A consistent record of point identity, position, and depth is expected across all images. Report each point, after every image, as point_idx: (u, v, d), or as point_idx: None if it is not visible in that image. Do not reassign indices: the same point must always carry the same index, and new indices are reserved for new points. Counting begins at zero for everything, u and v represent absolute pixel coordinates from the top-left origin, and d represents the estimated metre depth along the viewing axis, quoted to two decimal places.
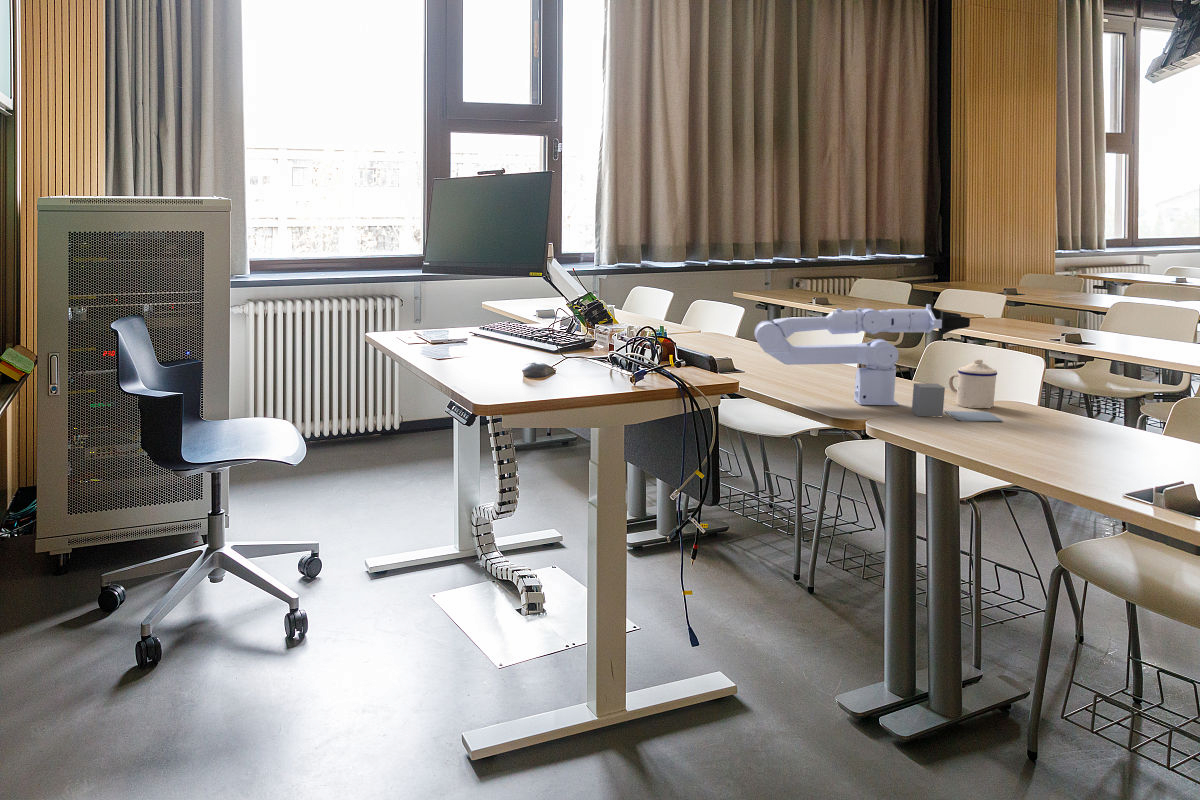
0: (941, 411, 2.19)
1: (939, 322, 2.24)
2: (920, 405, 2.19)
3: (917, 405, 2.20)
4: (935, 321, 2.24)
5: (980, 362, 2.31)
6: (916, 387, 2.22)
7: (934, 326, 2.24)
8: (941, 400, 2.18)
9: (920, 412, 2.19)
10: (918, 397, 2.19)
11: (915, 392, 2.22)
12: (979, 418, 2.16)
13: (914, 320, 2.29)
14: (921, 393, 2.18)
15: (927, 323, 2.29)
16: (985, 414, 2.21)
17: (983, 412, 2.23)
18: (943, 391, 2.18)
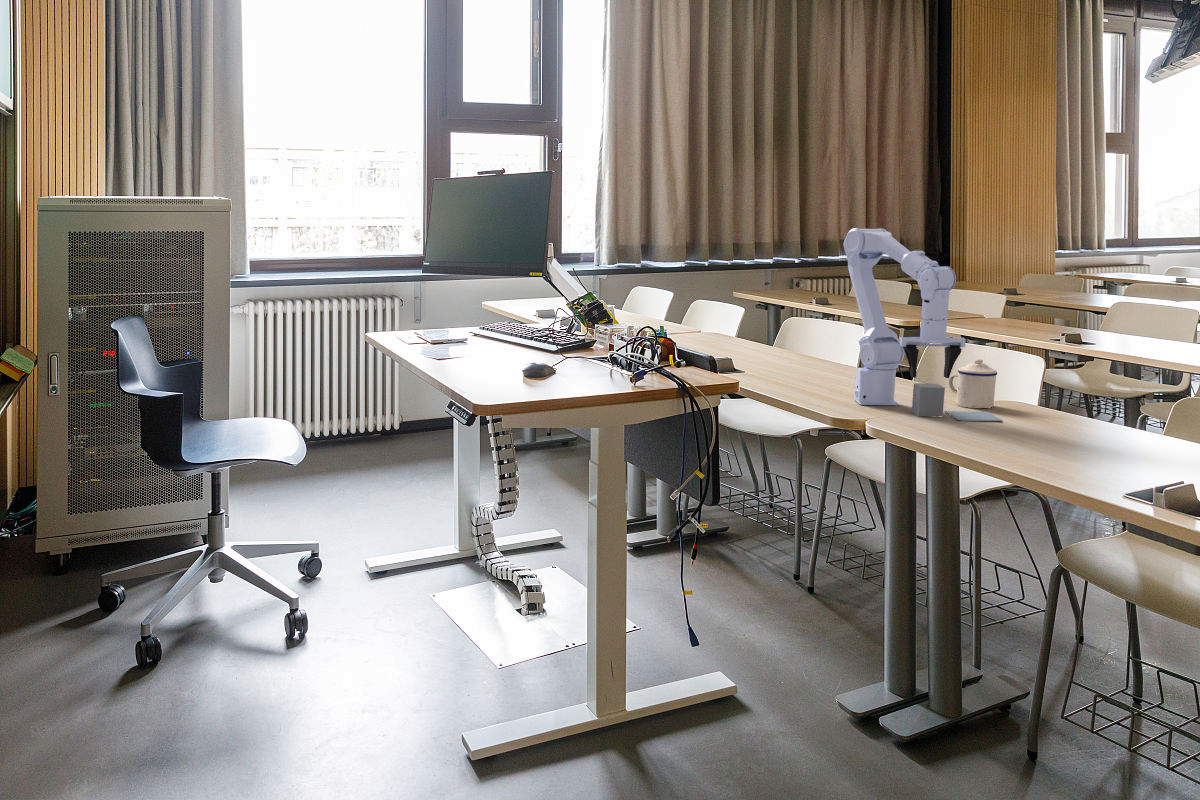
0: (941, 411, 2.19)
1: (901, 343, 2.19)
2: (920, 405, 2.19)
3: (917, 405, 2.20)
4: (901, 339, 2.18)
5: (980, 362, 2.31)
6: (916, 387, 2.22)
7: (900, 338, 2.20)
8: (941, 400, 2.18)
9: (920, 412, 2.19)
10: (918, 397, 2.19)
11: (915, 392, 2.22)
12: (979, 418, 2.16)
13: (922, 323, 2.18)
14: (921, 393, 2.18)
15: (920, 336, 2.19)
16: (985, 414, 2.21)
17: (983, 412, 2.23)
18: (943, 391, 2.18)
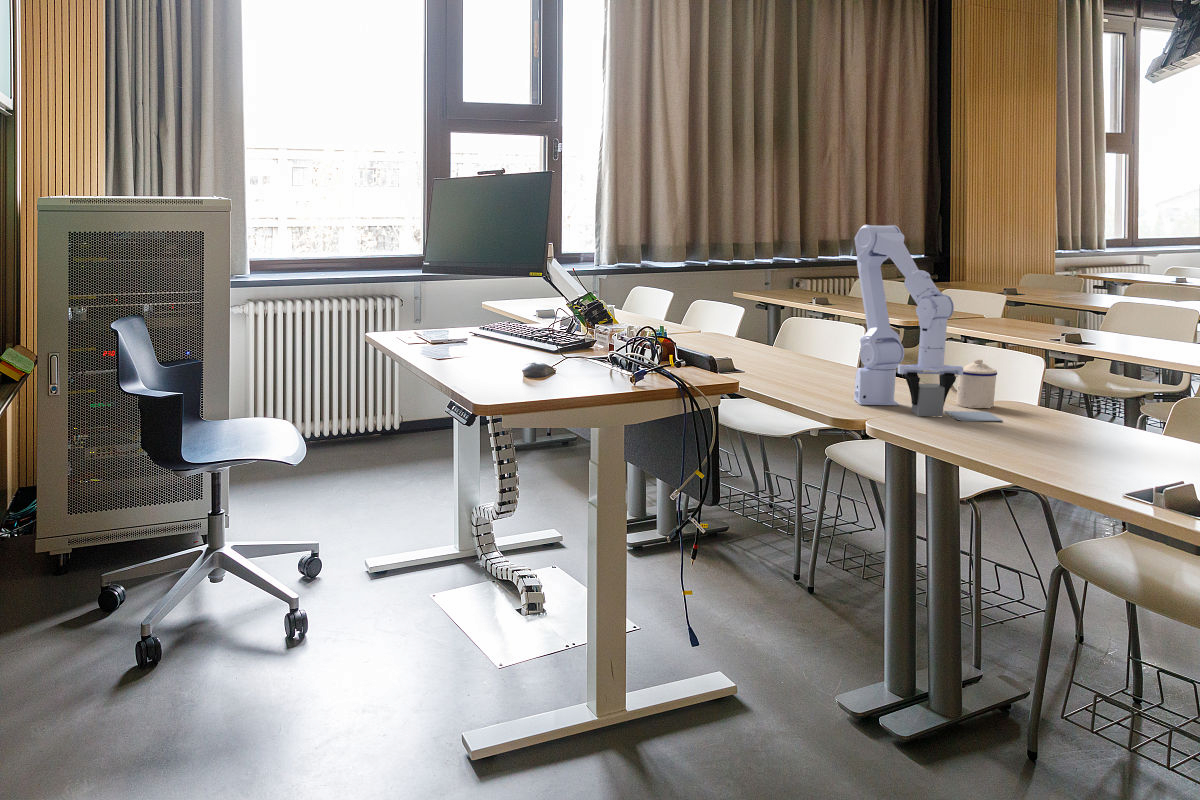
0: (941, 411, 2.19)
1: (899, 371, 2.20)
2: (920, 405, 2.19)
3: (917, 405, 2.20)
4: (899, 367, 2.20)
5: (980, 362, 2.31)
6: None
7: (898, 366, 2.21)
8: (941, 400, 2.18)
9: (920, 412, 2.19)
10: (918, 397, 2.19)
11: None
12: (979, 418, 2.16)
13: (919, 351, 2.19)
14: (921, 393, 2.18)
15: (918, 364, 2.20)
16: (985, 414, 2.21)
17: (983, 412, 2.23)
18: (943, 391, 2.18)
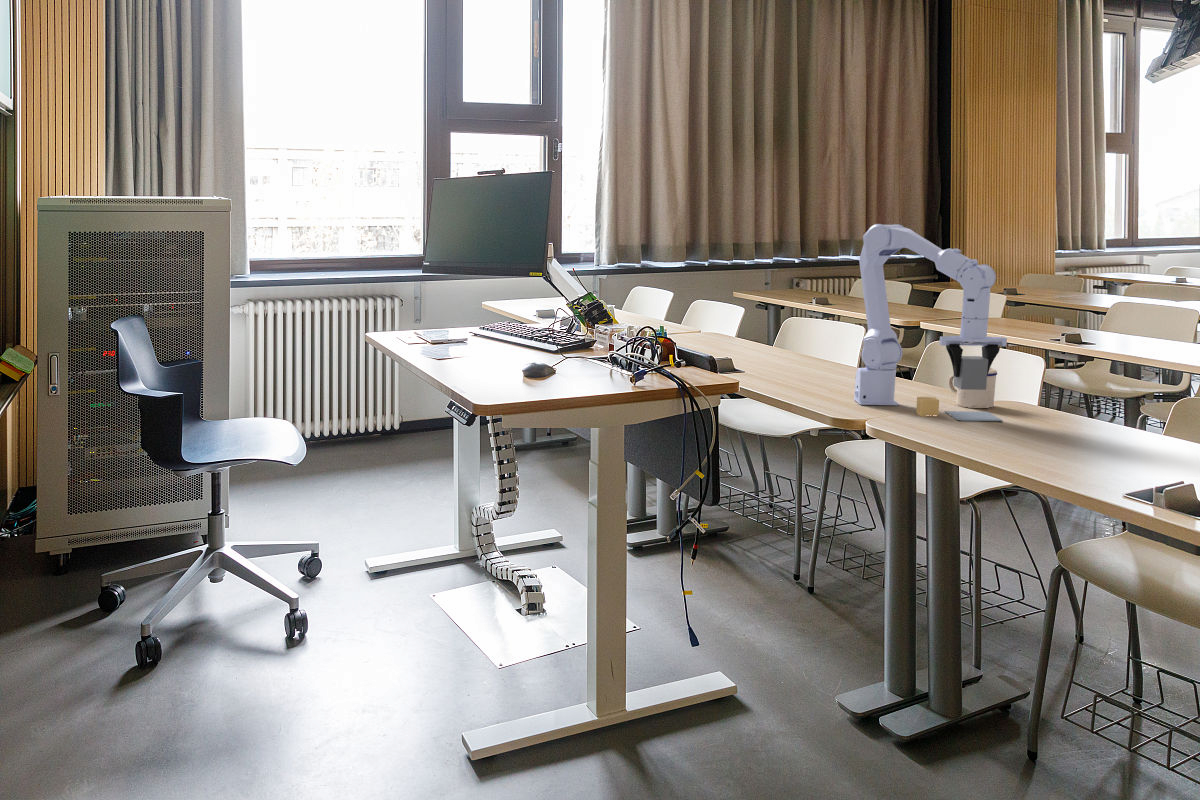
0: (984, 383, 2.15)
1: (941, 342, 2.17)
2: (963, 377, 2.15)
3: (960, 378, 2.17)
4: (941, 338, 2.16)
5: None
6: None
7: (940, 337, 2.17)
8: (984, 372, 2.15)
9: (962, 384, 2.16)
10: (961, 369, 2.16)
11: None
12: (979, 418, 2.16)
13: (962, 322, 2.16)
14: (964, 365, 2.15)
15: (960, 335, 2.17)
16: (985, 414, 2.21)
17: (983, 412, 2.23)
18: (986, 363, 2.14)
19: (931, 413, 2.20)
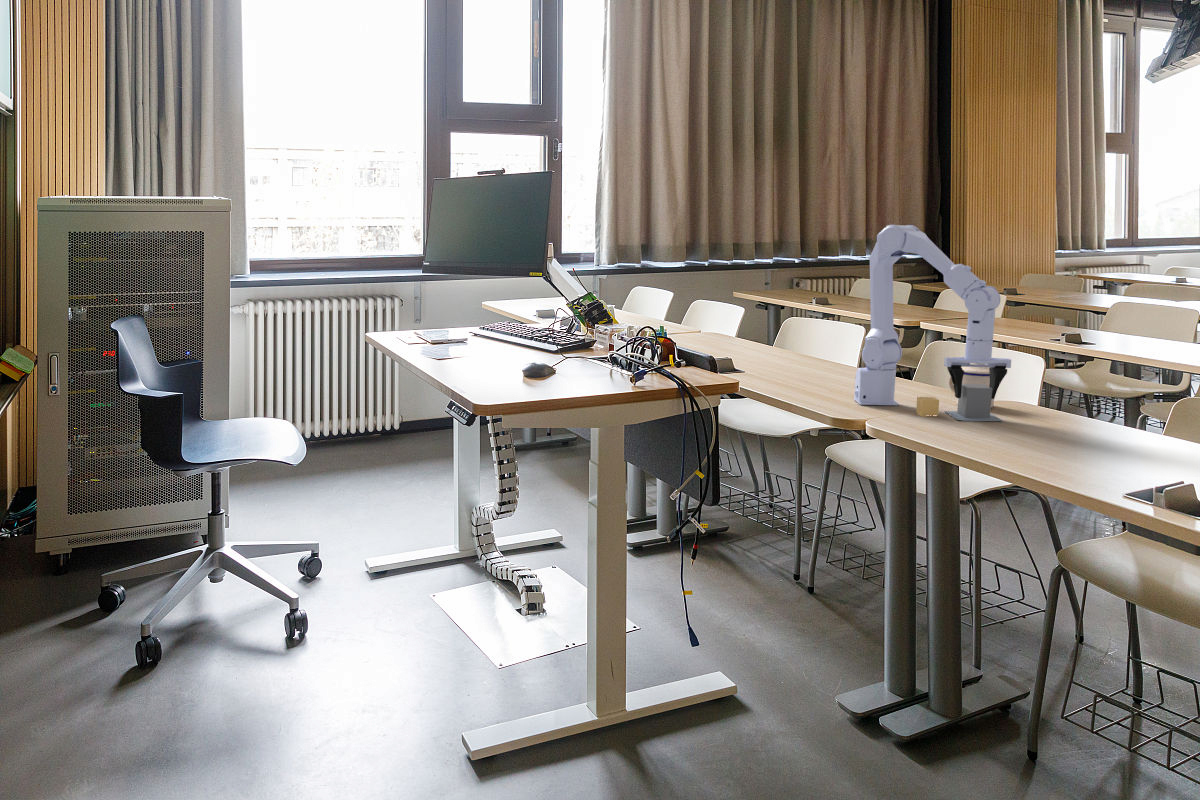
0: (988, 412, 2.16)
1: (946, 363, 2.17)
2: (967, 406, 2.16)
3: (964, 406, 2.17)
4: (946, 360, 2.17)
5: None
6: (962, 387, 2.19)
7: (945, 358, 2.18)
8: (988, 401, 2.16)
9: (966, 413, 2.17)
10: (965, 398, 2.17)
11: (961, 393, 2.19)
12: (979, 418, 2.16)
13: (967, 343, 2.16)
14: (968, 393, 2.16)
15: (965, 356, 2.17)
16: None
17: None
18: (990, 392, 2.15)
19: (931, 413, 2.20)
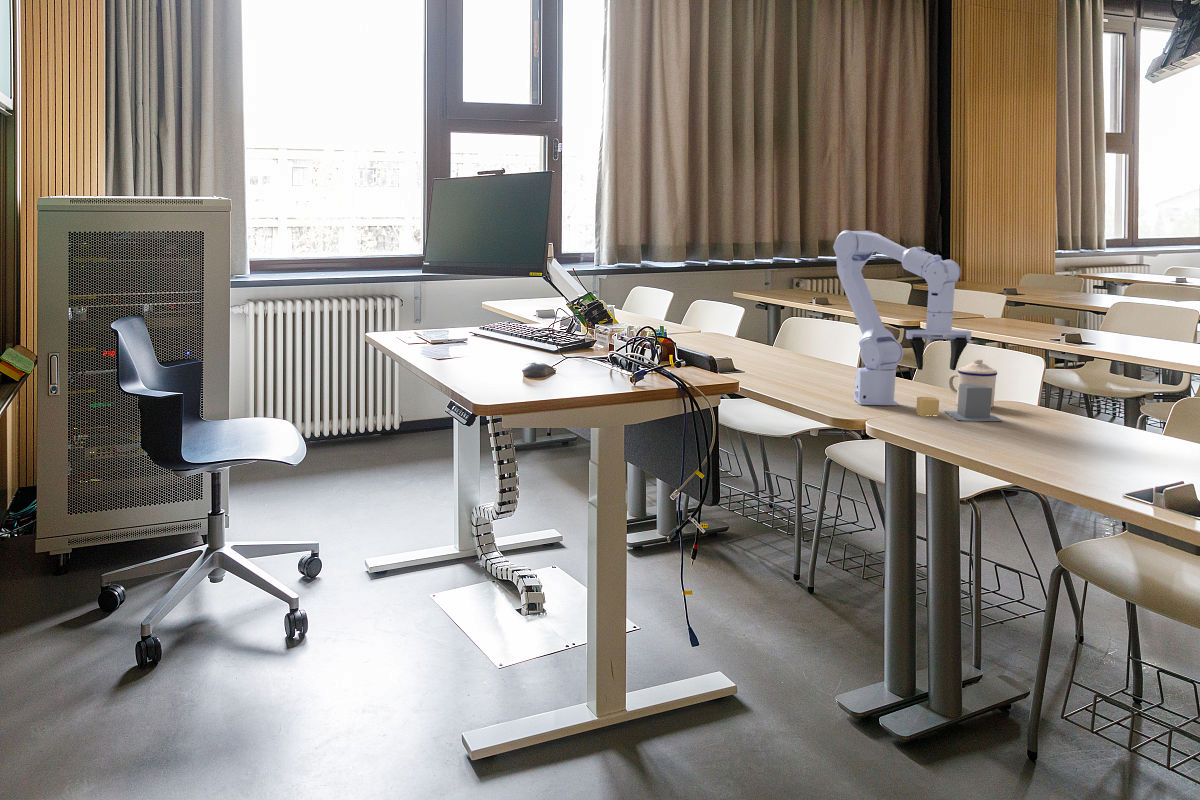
0: (988, 412, 2.16)
1: (907, 336, 2.21)
2: (967, 406, 2.16)
3: (964, 406, 2.17)
4: (908, 332, 2.21)
5: (980, 362, 2.31)
6: (962, 387, 2.19)
7: (906, 331, 2.22)
8: (988, 401, 2.16)
9: (966, 413, 2.17)
10: (965, 398, 2.17)
11: (961, 393, 2.19)
12: (979, 418, 2.16)
13: (928, 315, 2.20)
14: (968, 393, 2.16)
15: (926, 328, 2.22)
16: None
17: None
18: (990, 392, 2.15)
19: (931, 413, 2.20)
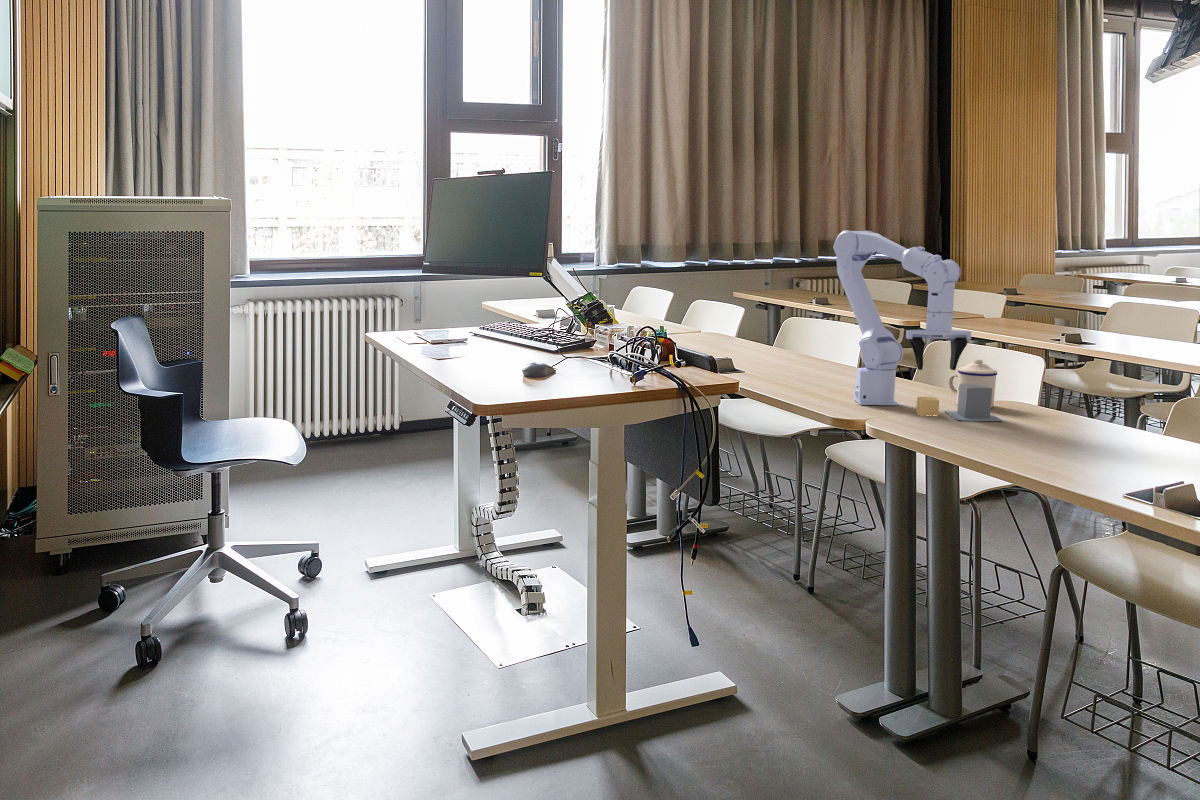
0: (988, 412, 2.16)
1: (907, 336, 2.21)
2: (967, 406, 2.16)
3: (964, 406, 2.17)
4: (908, 332, 2.21)
5: (980, 362, 2.31)
6: (962, 387, 2.19)
7: (906, 331, 2.22)
8: (988, 401, 2.16)
9: (966, 413, 2.17)
10: (965, 398, 2.17)
11: (961, 393, 2.19)
12: (979, 418, 2.16)
13: (928, 315, 2.20)
14: (968, 393, 2.16)
15: (926, 328, 2.22)
16: None
17: None
18: (990, 392, 2.15)
19: (931, 413, 2.20)
